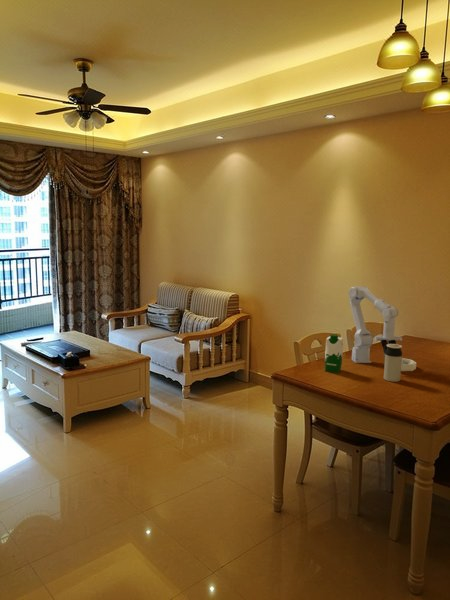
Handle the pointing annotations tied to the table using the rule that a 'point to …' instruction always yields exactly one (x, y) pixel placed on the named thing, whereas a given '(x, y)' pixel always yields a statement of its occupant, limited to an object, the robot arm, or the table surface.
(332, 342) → the milk carton
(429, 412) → the table surface
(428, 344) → the table surface
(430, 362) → the table surface
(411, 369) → the white low round dish
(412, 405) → the table surface
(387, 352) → the travel mug
